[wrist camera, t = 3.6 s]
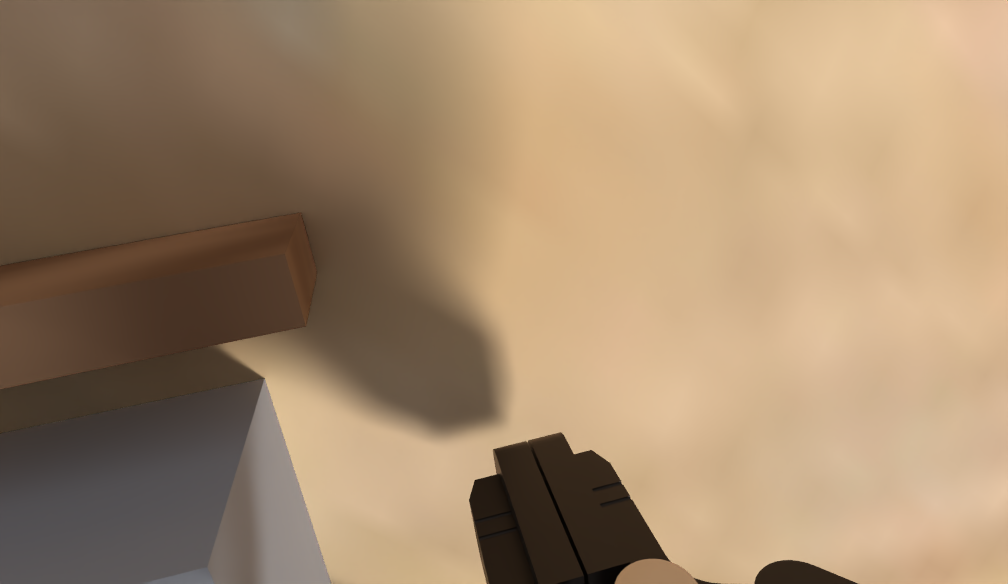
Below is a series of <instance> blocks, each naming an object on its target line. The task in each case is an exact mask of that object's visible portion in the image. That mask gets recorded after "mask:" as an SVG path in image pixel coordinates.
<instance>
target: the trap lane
mask: <svg viewBox="0 0 1008 584" xmlns="http://www.w3.org/2000/svg"><path fill="white" fill-rule="evenodd" d="M316 276H317V270H316V266H315V262H314V259H313V255H312V251H311V248H310V244H309V240H308V237H307V233H306V229H305V226H304V222H303V218H302V215H301V213H296V214H290V215H285V216H279V217H273V218H268V219H262V220H256V221H251V222H245V223H239V224H234V225H228V226H222V227H217V228H211V229H205V230H200V231H194V232H189V233H183V234H177V235H172V236H166V237H160V238H155V239H149V240H143V241H138V242H132V243H126V244H121V245H115V246H109V247H104V248H98V249H93V250H87V251H81V252H76V253H70V254H64V255H59V256H53V257H47V258H42V259H36V260H30V261H25V262H19V263H13V264H8V265H2V266H0V389H4V388H9V387H14V386H19V385H24V384H28V383H33V382H38V381H43V380H48V379H53V378H58V377H62V376H67V375H72V374H77V373H82V372H87V371H92V370H96V369H101V368H106V367H111V366H116V365H121V364H126V363H130V362H135V361H140V360H145V359H150V358H155V357H160V356H164V355H169V354H174V353H179V352H184V351H189V350H194V349H198V348H203V347H208V346H213V345H218V344H223V343H228V342H232V341H237V340H242V339H247V338H252V337H257V336H262V335H266V334H271V333H276V332H281V331H286V330H291V329H296V328H300V327H305V326H306V324H307V319H308V315H309V310H310V305H311V300H312V295H313V291H314V286H315V281H316Z"/></svg>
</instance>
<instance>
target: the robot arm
mask: <svg viewBox="0 0 1008 584" xmlns="http://www.w3.org/2000/svg"><path fill="white" fill-rule="evenodd" d="M493 455H494V461H495V467H496V473H497V475H493V476H489V477H485V478H481V479H477V480H475V482H474V485H473V488H472V492H471V495H470V499H469V502H470V507H471V512H472V517H473V522H474V527H475V532H476V538H477V543H478V548H479V553H480V557H481V562H482V566H483V570H484V574H485V578H486V583H487V584H719V583H710V582H705V581H701V580H698V579H695V578H693V577H692V576H691V574H689V573H688V572H687V571H686V570H685V569H683V568H682V567H680V566H679V565H677V564H674V563H672V562H670V561H669V559H668V558H667V556H666V555H665V553H664V552H663V550H662V548H661V547H660V545H659V544H658V542H657V540H656V539H655V537H654V535H653V534H652V532H651V530H650V529H649V527H648V525H647V524H646V522H645V520H644V519H643V517H642V515H641V514H640V512H639V510H638V509H637V507H636V505H635V504H634V502H633V500H631V499H630V495H629V494H628V492H627V490H626V489H625V487H624V485H622V484H621V480H620V479H619V477H618V475H617V474H616V472H615V470H614V469H613V467H612V465H611V464H610V463H609V462H608V461H606V460H605V459H603V458H602V457H601V456H599V455H598V454H596V453H595V452H594V451H592V450H590V451H586V452H582V453H578V454H573V452H572V450H571V448H570V446H569V444H568V442H567V440H566V439H565V437H564V435H563V434H562V433H561V432H560V433H556V434H552V435H548V436H544V437H540V438H536V439H532V440H529V441H528V443H527V442H526V441H525V442H521V443H517V444H513V445H509V446H505V447H501V448H497V449H493ZM755 584H858V583H855V582H853V581H850V580H848V579H845V578H843V577H841V576H838V575H836V574H833V573H831V572H829V571H826V570H824V569H821V568H819V567H816V566H814V565H811V564H808V563H805V562H800V561H793V560H783V561H777V562H774V563H771V564H769V565H767V566H765V567H764V568H763V569H762V570H761V571H760V572H759V573H758V575H757V576H756V579H755Z"/></svg>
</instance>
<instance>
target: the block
mask: <svg viewBox="0 0 1008 584" xmlns="http://www.w3.org/2000/svg"><path fill="white" fill-rule="evenodd" d="M0 584H331V581H330V578H329V575H328V572H327V569H326V565H325V562H324V559H323V556H322V553H321V550H320V547H319V544H318V541H317V538H316V535H315V532H314V529H313V525H312V522H311V519H310V516H309V513H308V510H307V507H306V504H305V501H304V498H303V495H302V492H301V489H300V485H299V482H298V479H297V476H296V473H295V470H294V467H293V464H292V461H291V458H290V455H289V452H288V449H287V446H286V442H285V439H284V436H283V433H282V430H281V427H280V424H279V421H278V418H277V415H276V412H275V409H274V406H273V402H272V399H271V396H270V393H269V390H268V387H267V384H266V381H265V378H264V379H259V380H254V381H249V382H244V383H240V384H235V385H230V386H225V387H220V388H216V389H211V390H206V391H201V392H197V393H192V394H187V395H182V396H177V397H173V398H168V399H163V400H158V401H153V402H149V403H144V404H139V405H134V406H129V407H125V408H120V409H115V410H110V411H105V412H101V413H96V414H91V415H86V416H81V417H77V418H72V419H67V420H62V421H57V422H53V423H48V424H43V425H38V426H33V427H29V428H24V429H19V430H14V431H9V432H5V433H0Z"/></svg>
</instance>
